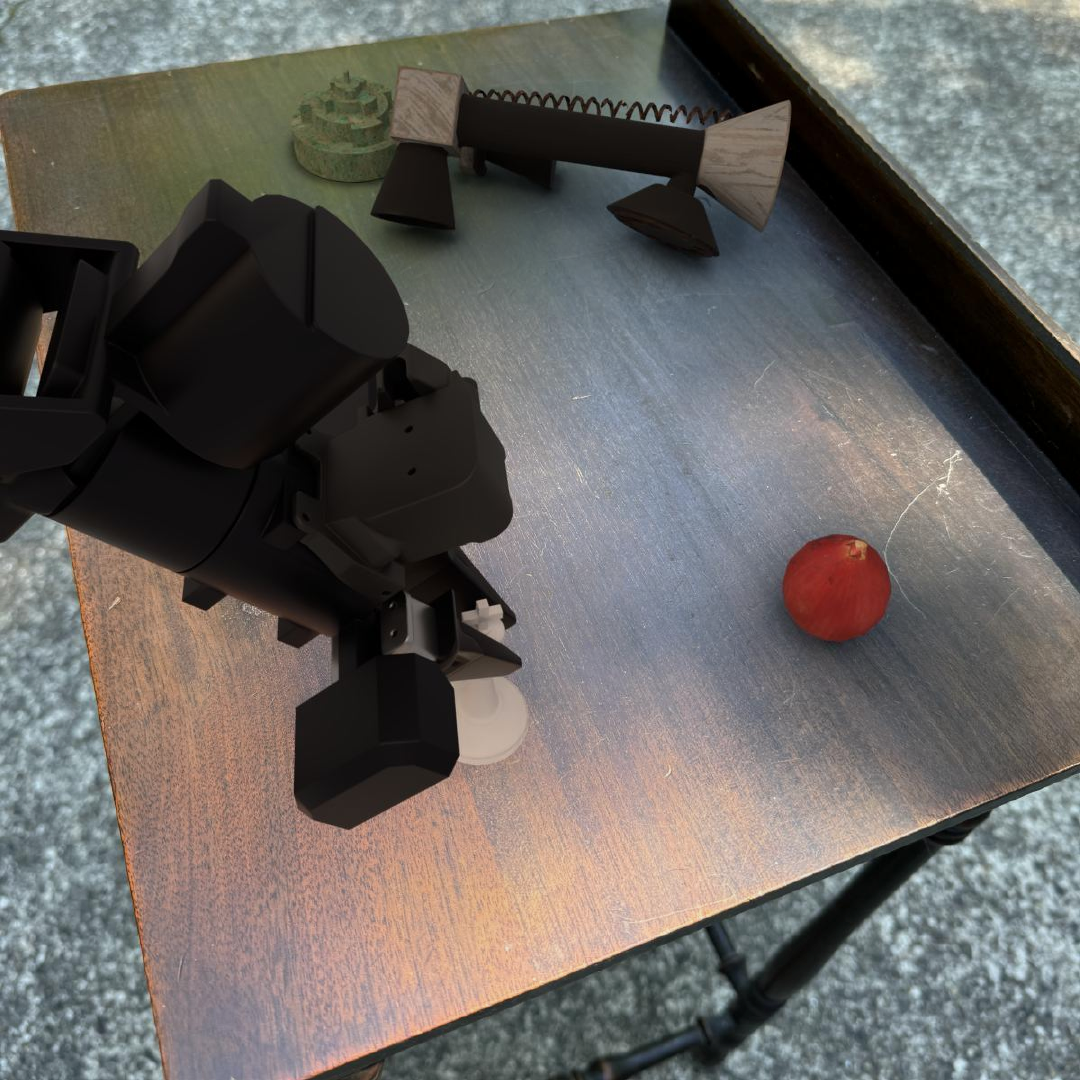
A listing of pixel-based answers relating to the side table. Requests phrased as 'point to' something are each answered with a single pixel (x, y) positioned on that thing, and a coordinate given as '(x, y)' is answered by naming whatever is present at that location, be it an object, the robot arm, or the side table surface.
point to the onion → (836, 587)
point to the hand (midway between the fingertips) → (512, 646)
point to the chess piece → (488, 702)
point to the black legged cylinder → (581, 155)
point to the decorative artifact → (345, 130)
